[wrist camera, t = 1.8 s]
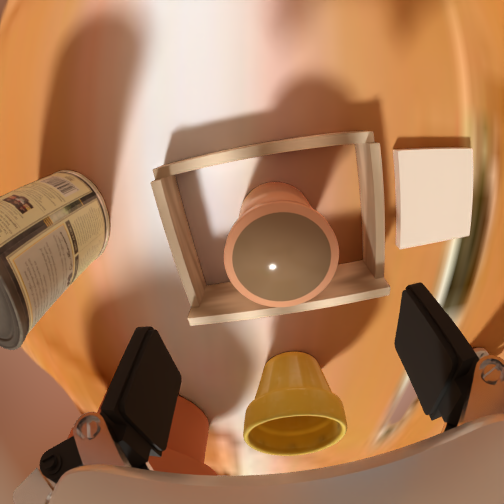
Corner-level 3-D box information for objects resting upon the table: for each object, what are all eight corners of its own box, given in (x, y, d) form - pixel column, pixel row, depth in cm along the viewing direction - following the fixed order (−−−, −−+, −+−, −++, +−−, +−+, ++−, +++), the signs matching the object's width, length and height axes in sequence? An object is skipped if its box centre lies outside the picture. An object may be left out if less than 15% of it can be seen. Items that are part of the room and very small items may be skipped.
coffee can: (48, 261, 26) (-27, 334, 14) (31, 174, 22) (-69, 222, 9) (118, 267, 26) (43, 366, 13) (105, 165, 22) (-14, 218, 9)
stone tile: (466, 147, 20) (472, 148, 19) (464, 232, 23) (469, 235, 22) (392, 149, 21) (397, 150, 20) (395, 244, 24) (400, 249, 23)
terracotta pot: (309, 171, 22) (334, 194, 15) (319, 246, 25) (341, 298, 17) (227, 185, 23) (211, 215, 15) (243, 258, 25) (237, 314, 18)
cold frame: (362, 130, 20) (387, 133, 16) (370, 266, 25) (389, 294, 21) (163, 164, 22) (139, 176, 17) (200, 293, 27) (190, 325, 23)
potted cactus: (216, 450, 43) (203, 562, 21) (107, 422, 42) (73, 524, 19) (234, 391, 34) (218, 571, 11) (83, 351, 32) (11, 495, 10)
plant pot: (250, 395, 34) (247, 458, 25) (243, 341, 30) (237, 416, 21) (327, 390, 34) (338, 451, 25) (337, 335, 29) (358, 407, 20)
